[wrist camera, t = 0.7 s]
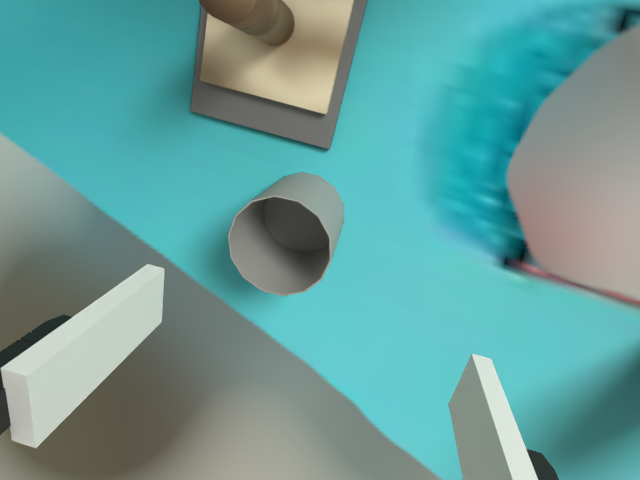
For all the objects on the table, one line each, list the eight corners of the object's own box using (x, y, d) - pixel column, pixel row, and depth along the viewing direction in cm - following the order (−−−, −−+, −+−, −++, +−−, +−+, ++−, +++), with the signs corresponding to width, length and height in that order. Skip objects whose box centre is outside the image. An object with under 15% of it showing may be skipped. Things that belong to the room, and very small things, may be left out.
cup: (260, 240, 41) (223, 281, 31) (269, 165, 38) (232, 185, 28) (336, 258, 40) (322, 305, 31) (352, 182, 37) (342, 209, 28)
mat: (218, -119, 30) (215, -123, 30) (387, -79, 29) (387, -83, 29) (193, 110, 37) (190, 111, 36) (330, 148, 36) (329, 149, 36)
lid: (222, -74, 31) (132, -171, 20) (363, -40, 30) (352, -121, 19) (203, 80, 35) (122, 71, 24) (326, 114, 34) (300, 119, 24)
